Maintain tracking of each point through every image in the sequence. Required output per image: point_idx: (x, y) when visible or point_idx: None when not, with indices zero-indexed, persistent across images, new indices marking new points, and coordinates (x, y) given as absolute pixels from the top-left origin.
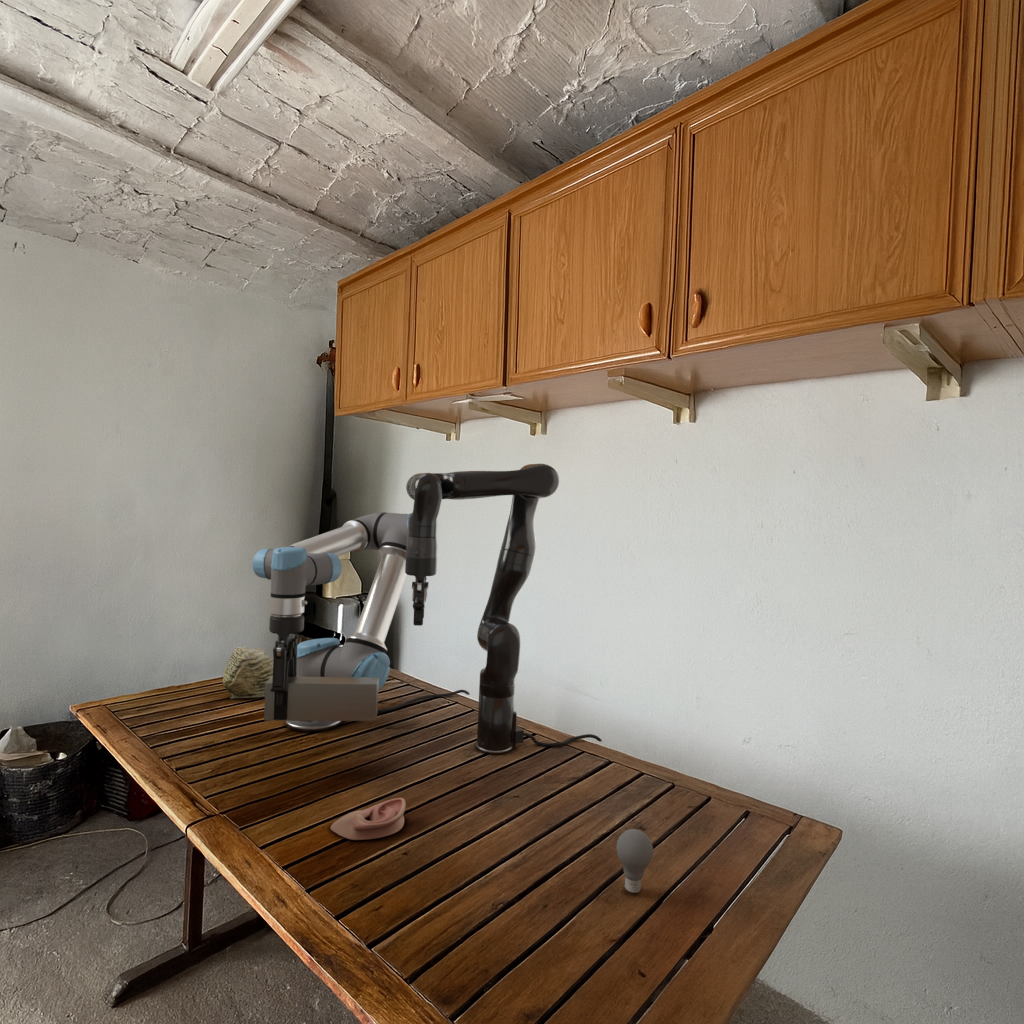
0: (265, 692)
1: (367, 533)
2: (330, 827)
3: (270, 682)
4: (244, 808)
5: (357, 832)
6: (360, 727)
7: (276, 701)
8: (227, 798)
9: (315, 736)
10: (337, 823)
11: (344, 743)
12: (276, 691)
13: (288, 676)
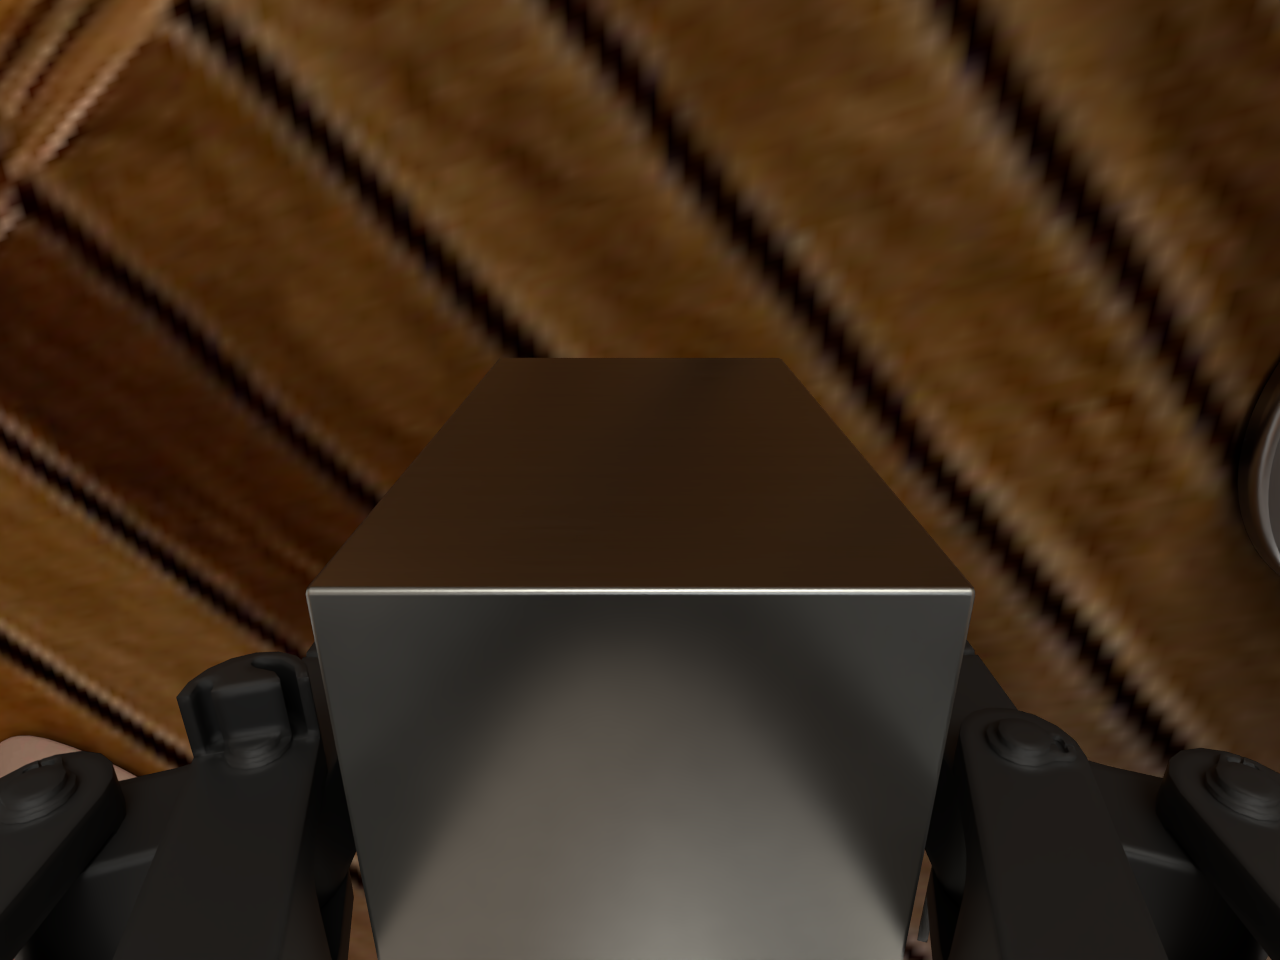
0: (388, 495)
1: None
2: (18, 736)
3: (359, 698)
4: (107, 310)
5: None
6: (1244, 707)
7: (315, 647)
8: (201, 164)
9: (1159, 480)
10: (6, 774)
11: (996, 658)
12: (141, 792)
13: (899, 930)
